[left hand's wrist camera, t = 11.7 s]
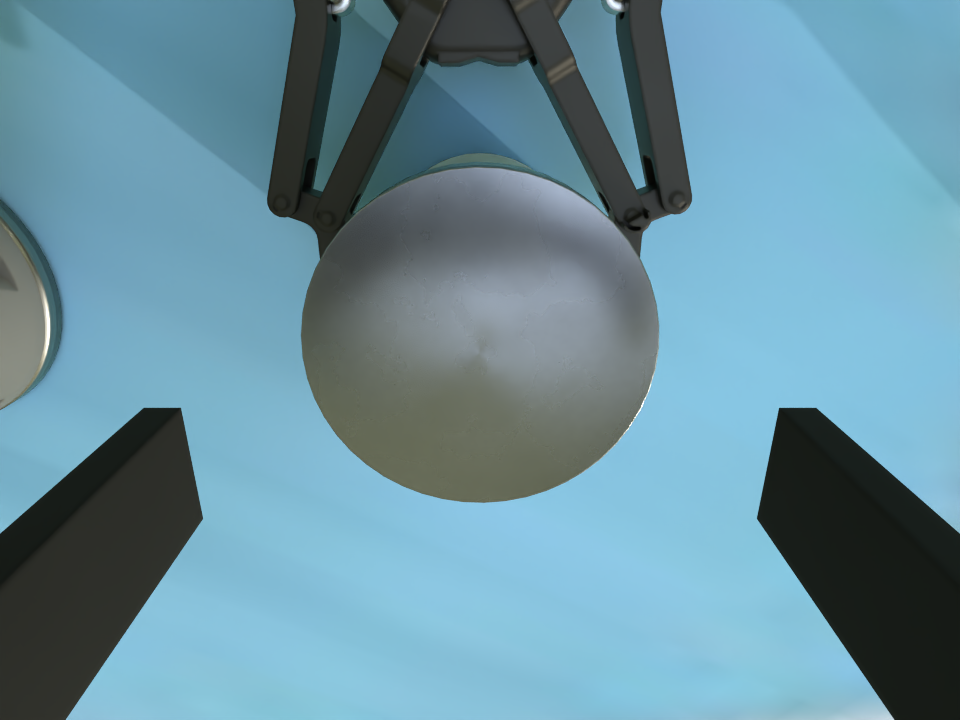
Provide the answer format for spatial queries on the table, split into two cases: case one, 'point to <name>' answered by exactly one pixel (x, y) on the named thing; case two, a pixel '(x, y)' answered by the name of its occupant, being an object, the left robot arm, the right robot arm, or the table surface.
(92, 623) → the left robot arm
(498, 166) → the lid
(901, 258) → the table surface
